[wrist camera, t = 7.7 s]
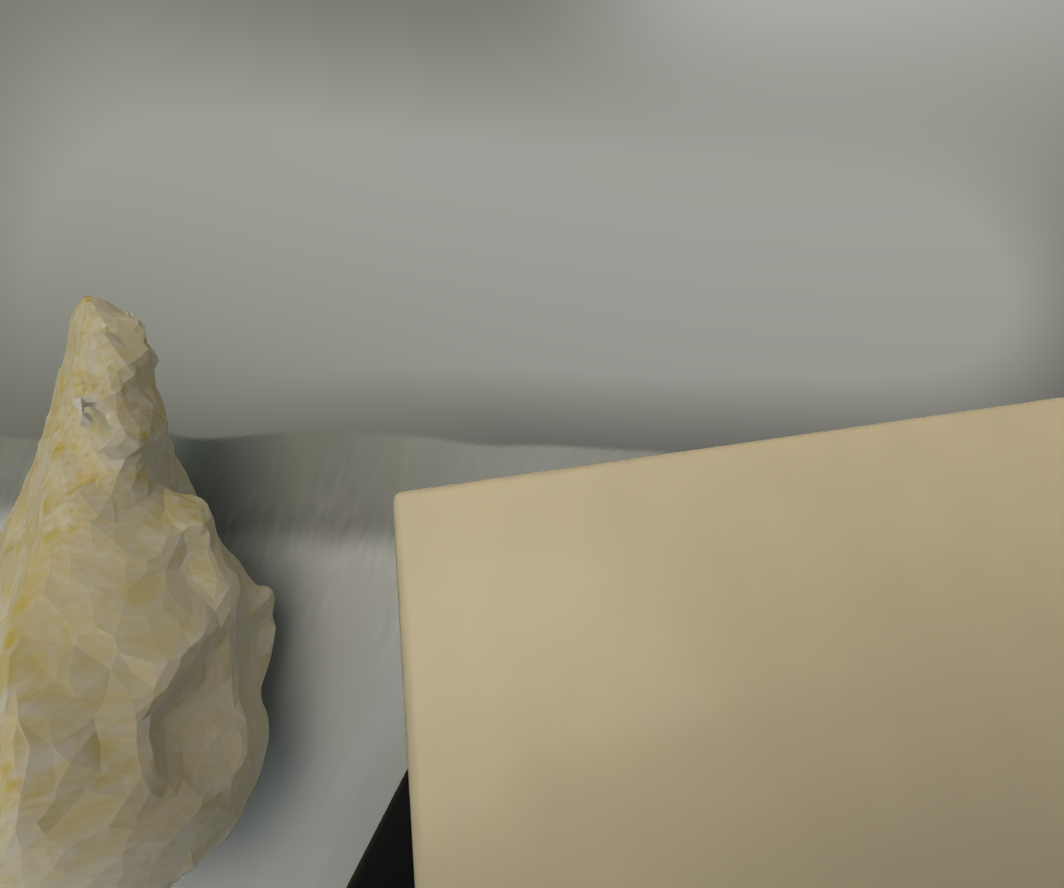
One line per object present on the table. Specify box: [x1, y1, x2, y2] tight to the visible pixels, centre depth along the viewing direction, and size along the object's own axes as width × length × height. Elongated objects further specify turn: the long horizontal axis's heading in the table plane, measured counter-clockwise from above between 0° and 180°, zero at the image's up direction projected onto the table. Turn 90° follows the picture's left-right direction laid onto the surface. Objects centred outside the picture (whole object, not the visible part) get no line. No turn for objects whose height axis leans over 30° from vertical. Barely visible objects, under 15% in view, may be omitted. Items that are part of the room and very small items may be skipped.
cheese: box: [0, 296, 276, 888], centre depth 17 cm, size 15×7×15 cm
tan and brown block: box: [393, 397, 1064, 888], centre depth 7 cm, size 5×4×12 cm
